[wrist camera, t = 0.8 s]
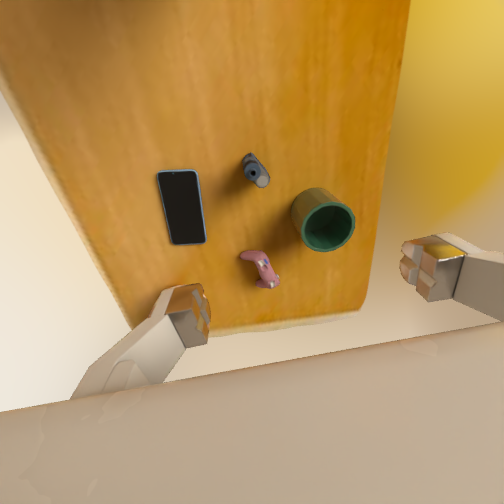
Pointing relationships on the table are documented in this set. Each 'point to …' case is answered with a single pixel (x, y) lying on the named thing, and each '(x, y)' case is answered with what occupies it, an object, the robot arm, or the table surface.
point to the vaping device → (255, 171)
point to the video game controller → (262, 268)
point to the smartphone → (182, 206)
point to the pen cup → (322, 220)
